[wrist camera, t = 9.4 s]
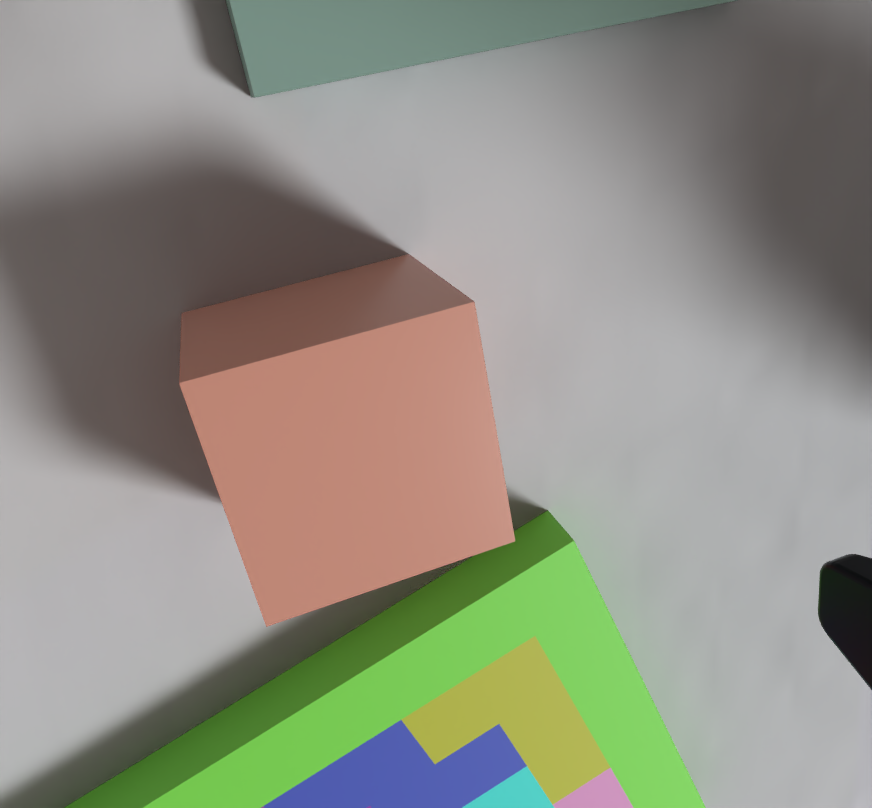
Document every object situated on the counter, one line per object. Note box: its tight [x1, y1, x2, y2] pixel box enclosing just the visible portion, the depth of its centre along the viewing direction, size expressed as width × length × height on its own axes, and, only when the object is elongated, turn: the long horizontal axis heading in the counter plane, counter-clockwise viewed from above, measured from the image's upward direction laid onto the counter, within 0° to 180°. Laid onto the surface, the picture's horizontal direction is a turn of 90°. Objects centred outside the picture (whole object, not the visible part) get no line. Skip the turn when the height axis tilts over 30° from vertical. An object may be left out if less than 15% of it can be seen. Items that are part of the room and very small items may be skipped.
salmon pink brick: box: [179, 254, 515, 627], centre depth 17 cm, size 6×6×5 cm
